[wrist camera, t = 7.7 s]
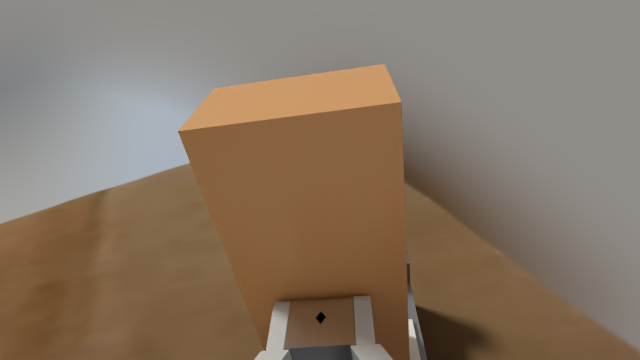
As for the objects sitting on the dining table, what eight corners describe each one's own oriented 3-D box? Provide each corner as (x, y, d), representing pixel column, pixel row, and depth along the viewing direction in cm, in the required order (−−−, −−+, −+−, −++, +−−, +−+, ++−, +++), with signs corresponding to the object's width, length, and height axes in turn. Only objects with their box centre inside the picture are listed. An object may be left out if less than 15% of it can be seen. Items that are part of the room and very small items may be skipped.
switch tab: (410, 396, 14) (401, 102, 8) (284, 401, 15) (177, 131, 8) (398, 327, 17) (384, 63, 10) (292, 334, 17) (214, 87, 11)
